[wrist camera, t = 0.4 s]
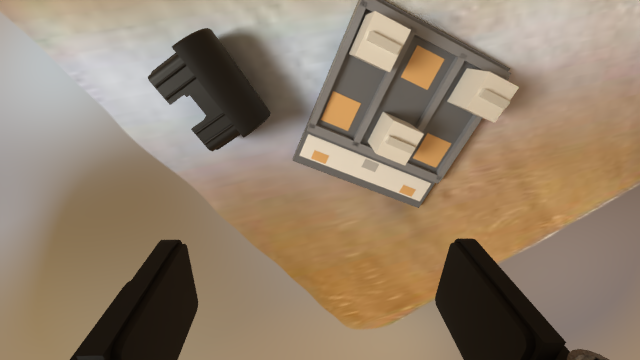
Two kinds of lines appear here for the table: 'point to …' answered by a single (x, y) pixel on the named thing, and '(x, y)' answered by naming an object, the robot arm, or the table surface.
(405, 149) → the cream block with ridge
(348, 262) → the table surface
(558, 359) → the robot arm
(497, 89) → the cream block
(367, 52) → the cream block with bar
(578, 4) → the table surface
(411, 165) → the switch bank
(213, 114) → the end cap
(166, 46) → the table surface
